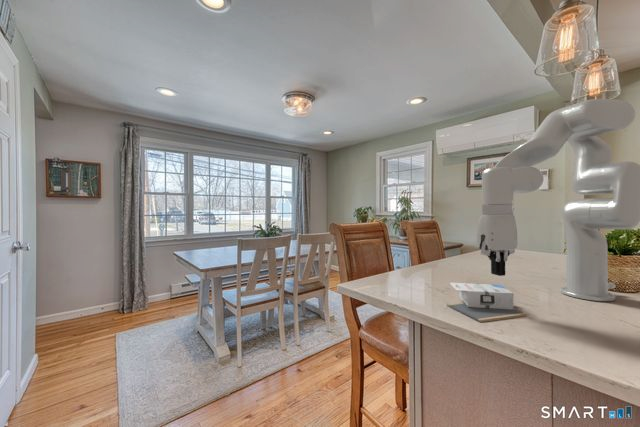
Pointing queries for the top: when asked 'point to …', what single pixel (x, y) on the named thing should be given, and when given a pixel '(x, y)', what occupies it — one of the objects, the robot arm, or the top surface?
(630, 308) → the top surface
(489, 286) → the ink box
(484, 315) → the mat
